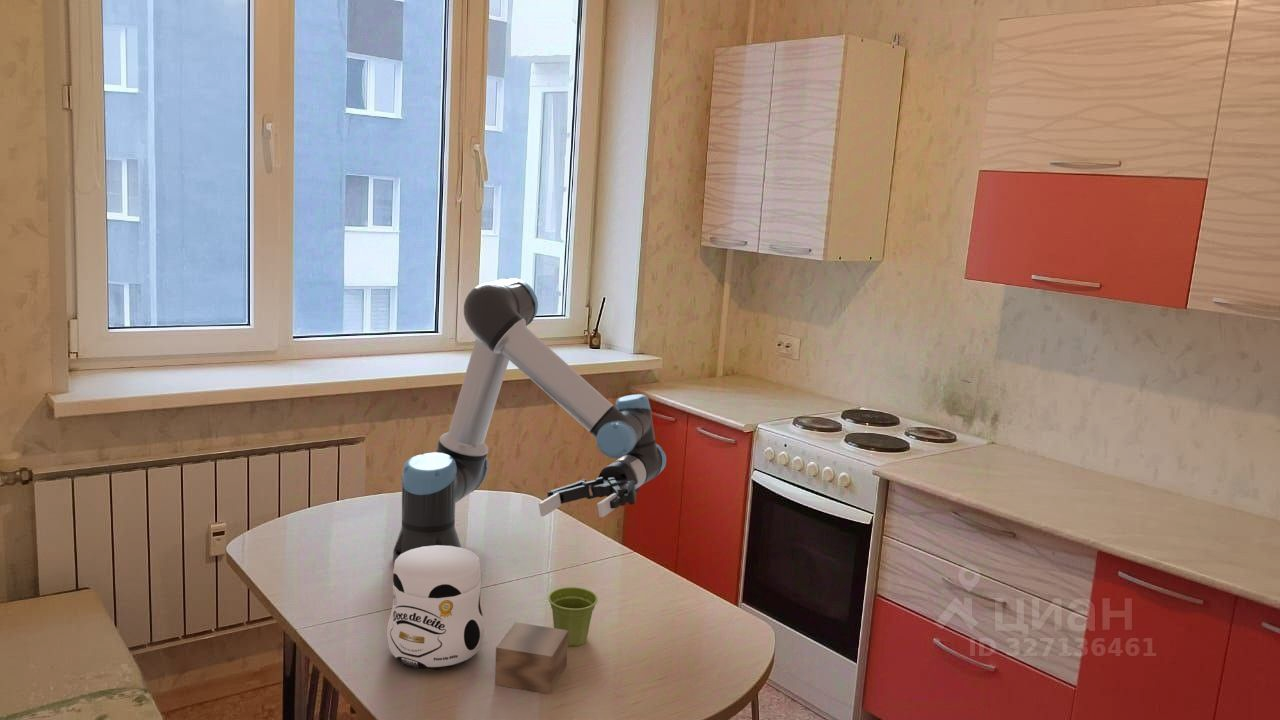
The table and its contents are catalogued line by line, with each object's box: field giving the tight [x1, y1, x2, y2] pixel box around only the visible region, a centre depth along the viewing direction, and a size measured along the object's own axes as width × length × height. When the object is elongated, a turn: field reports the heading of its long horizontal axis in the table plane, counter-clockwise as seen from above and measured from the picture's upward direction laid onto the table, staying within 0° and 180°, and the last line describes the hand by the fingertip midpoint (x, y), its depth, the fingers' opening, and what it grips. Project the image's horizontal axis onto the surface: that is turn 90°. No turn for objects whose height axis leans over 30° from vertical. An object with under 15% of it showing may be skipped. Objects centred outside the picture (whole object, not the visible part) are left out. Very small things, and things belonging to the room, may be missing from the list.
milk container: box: [386, 545, 485, 670], centre depth 176 cm, size 17×17×18 cm
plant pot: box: [547, 586, 599, 647], centre depth 185 cm, size 9×9×9 cm
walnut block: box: [494, 621, 569, 695], centre depth 171 cm, size 10×10×7 cm
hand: (569, 510), depth 189 cm, fingers open, 13 cm apart
